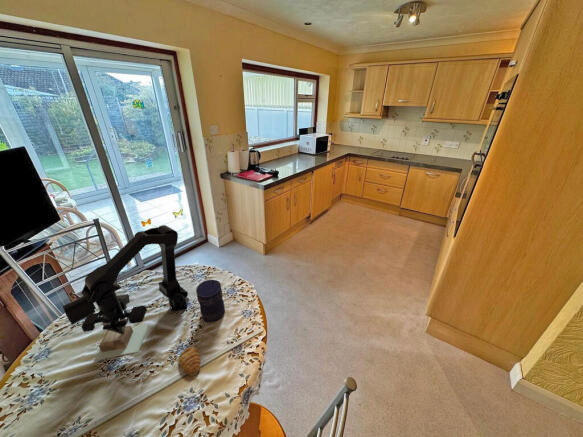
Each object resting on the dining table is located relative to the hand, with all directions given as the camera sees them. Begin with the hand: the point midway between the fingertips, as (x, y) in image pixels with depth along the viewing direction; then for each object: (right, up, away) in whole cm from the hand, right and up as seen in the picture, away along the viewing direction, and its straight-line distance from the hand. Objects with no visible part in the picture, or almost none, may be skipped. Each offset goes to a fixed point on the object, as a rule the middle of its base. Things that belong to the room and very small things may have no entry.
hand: (123, 332), depth 88 cm
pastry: (+28, -8, -5) cm, 30 cm away
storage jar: (+30, +2, +14) cm, 33 cm away
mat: (-1, -4, +2) cm, 5 cm away
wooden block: (+1, -2, +1) cm, 3 cm away
